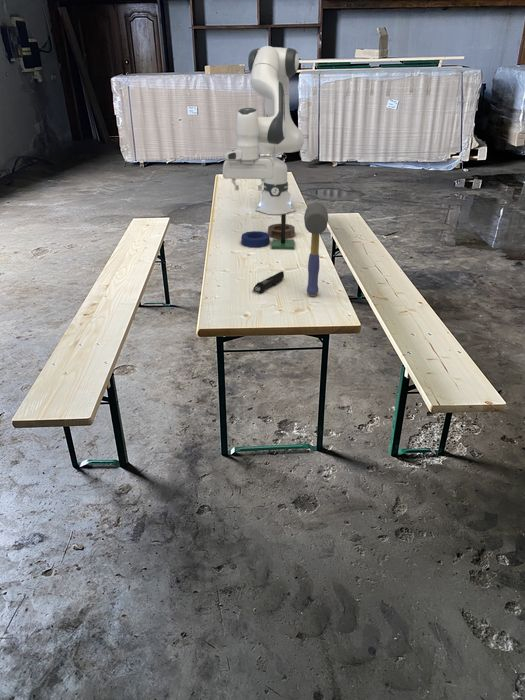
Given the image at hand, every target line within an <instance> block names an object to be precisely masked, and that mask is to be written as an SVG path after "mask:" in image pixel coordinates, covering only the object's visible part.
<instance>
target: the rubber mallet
mask: <svg viewBox="0 0 525 700" xmlns="http://www.w3.org/2000/svg"><path fill="white" fill-rule="evenodd" d="M303 216H304V217H303V221H304V228H305V229H306V230H307V232H308V233H310V234H311V237H310V238H311V241H310V253H309V256H308V261H307V275H308V276H307V278H308V279H307V287H306V294H307V295H308V296H309V297H317V295H318V293H319V273H320V251H319V250H320V234H322V233H323V232H325V231H326V229H327V227H328V223H329V213H328V210H327V208H326V206H325V205H324V204H323V203H321V202H316V201H315V202H312V203H310V204H309V205H308V206H306V209H305V212H304V215H303Z"/></svg>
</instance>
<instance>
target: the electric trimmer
mask: <svg viewBox="0 0 525 700" xmlns="http://www.w3.org/2000/svg"><path fill="white" fill-rule="evenodd" d="M284 278H285V272H284V271H279V272H277V273H275V274H273V275H271V276H269V277H268V278H265V279H263V280H262V281H257V283H256V284H255V285H254V286H253V288H252V291H253V292H254V293H256V294H263V293H264V291H265V290H266V289H268V288H270V287H271V286H275V285H277V284H279V282H281V280H283V279H284Z"/></svg>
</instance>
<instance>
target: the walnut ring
mask: <svg viewBox="0 0 525 700" xmlns="http://www.w3.org/2000/svg"><path fill="white" fill-rule="evenodd" d="M295 233H296V227H295V226H294V225H292V224H288V223H286V230H285V239H293V238H294V237H295V235H296V234H295ZM267 234H269V238H271V239H281V223H273V224H270V225H268V227H267Z"/></svg>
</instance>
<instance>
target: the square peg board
mask: <svg viewBox="0 0 525 700" xmlns="http://www.w3.org/2000/svg"><path fill="white" fill-rule="evenodd" d="M280 215H281V216H280V218H281V219H280V224H281V239H275V238H272V242H271V250H294V249H295V239H293V238H288V239H285V230H286V224H287V222H286V221H287V213H285V214H280Z"/></svg>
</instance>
